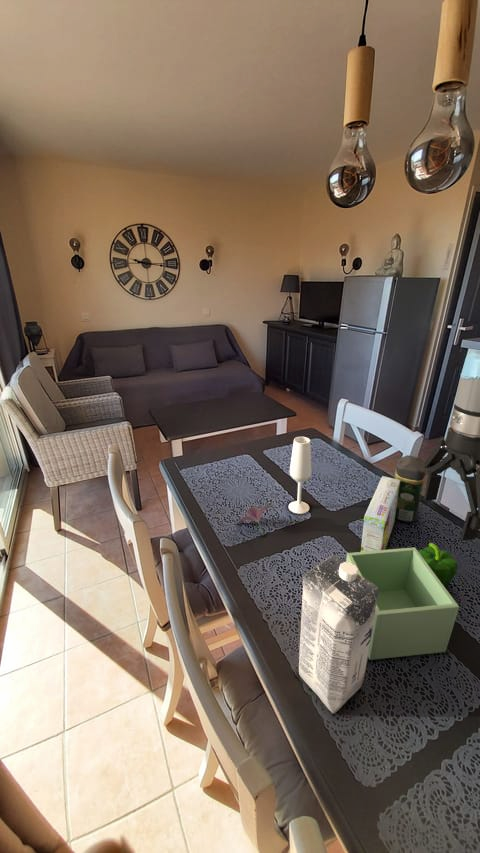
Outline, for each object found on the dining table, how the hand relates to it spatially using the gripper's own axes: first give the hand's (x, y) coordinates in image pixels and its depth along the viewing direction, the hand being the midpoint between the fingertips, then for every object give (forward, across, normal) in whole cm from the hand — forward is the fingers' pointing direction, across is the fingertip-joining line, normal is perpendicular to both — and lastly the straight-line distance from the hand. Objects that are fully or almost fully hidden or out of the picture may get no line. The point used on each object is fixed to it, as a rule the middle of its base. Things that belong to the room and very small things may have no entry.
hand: (447, 517), depth 80 cm
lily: (+20, -25, -40) cm, 51 cm away
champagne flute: (+20, -33, -25) cm, 45 cm away
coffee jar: (+19, -26, +6) cm, 33 cm away
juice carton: (+19, +20, -32) cm, 42 cm away
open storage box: (+19, +9, -15) cm, 26 cm away
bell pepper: (+19, 0, 0) cm, 19 cm away
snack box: (+19, -15, -7) cm, 25 cm away
